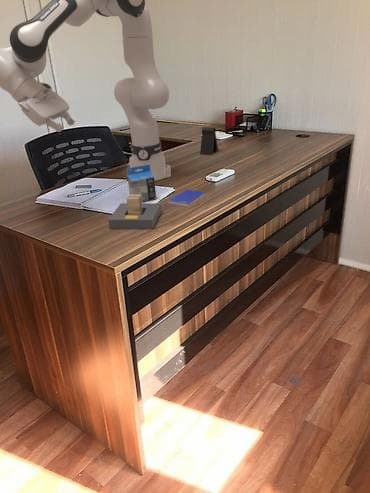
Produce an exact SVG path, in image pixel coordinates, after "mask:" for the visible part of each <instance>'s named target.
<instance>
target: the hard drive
mask: <svg viewBox="0 0 370 493" xmlns="http://www.w3.org/2000/svg"><path fill="white" fill-rule="evenodd" d="M205 193H206V192H205V191H198V190H192V189H185V190H184V191H182V192H180V193H178V194H177V195H175V196H174V197H172V198H170V199H168V200H167V202H168V204H170V205H171V204H172V205H178V206H183V207H184V206H185V207H189V206H190V205H192V204H193V203H195V202H197V201H198V200H199V199H201V198H202V197H204V196H205V195H206V194H205Z"/></svg>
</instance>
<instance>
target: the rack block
mask: <svg viewBox="0 0 370 493" xmlns="http://www.w3.org/2000/svg"><path fill="white" fill-rule="evenodd" d="M142 203H143V215H128V209H127V202H126V203H125V202H121V203H119V205H118V206H117V208H116V209H115V210H114V211H113V213H112V214H111V216H110V217H109V218H108V220H107V221H108V226H109V229H113V230H114V229H119V230H120V229H121V230H122V229H123V230H124V229H125V230H126V229H130V230H131V229H132V230H140V229H141V230H153V229H154V228H155V226H156V224H157V222H158V220H159V218H160V216H161V214H162V203H159V202H158V203H155V202H154V203H153V202H152V203H151V202H149V203H148V202H147V203H146V202H142Z"/></svg>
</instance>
